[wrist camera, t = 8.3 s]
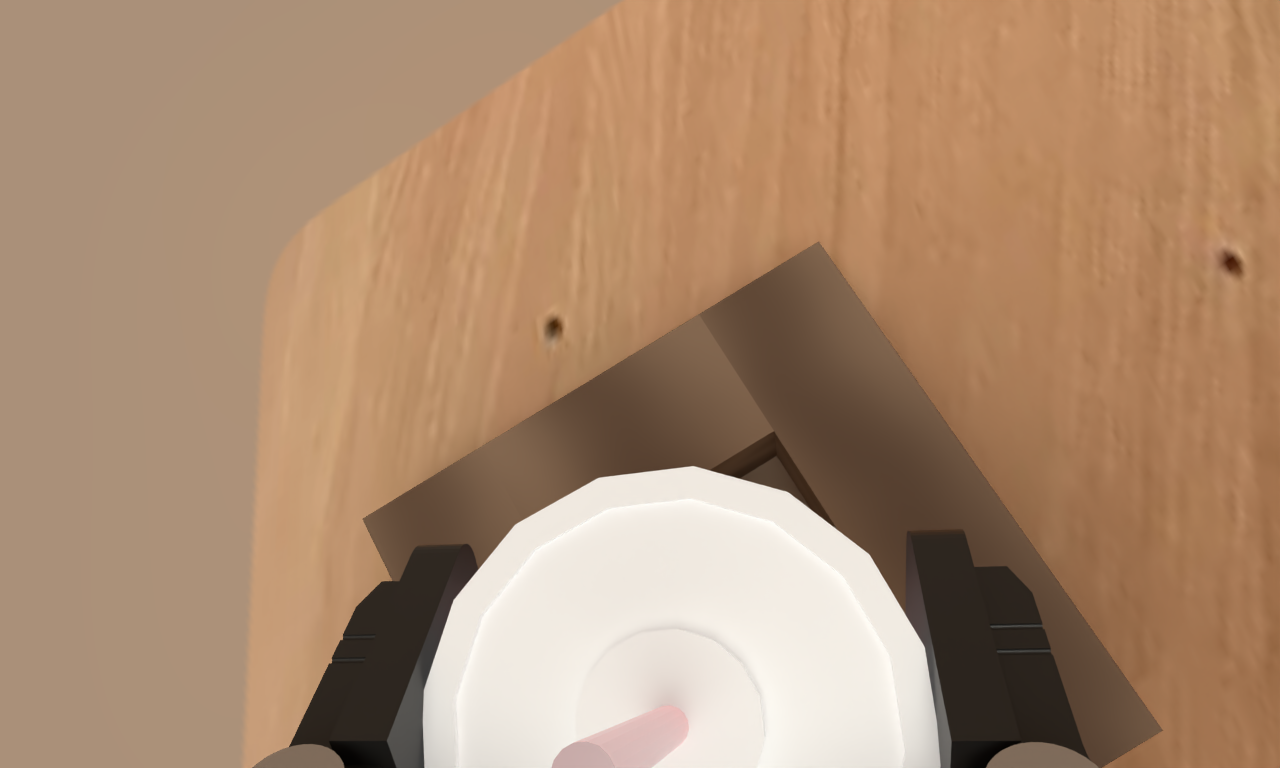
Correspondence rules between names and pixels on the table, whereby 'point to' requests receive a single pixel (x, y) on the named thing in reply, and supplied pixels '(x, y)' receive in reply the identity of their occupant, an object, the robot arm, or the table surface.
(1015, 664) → the robot arm
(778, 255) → the table surface
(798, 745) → the beverage cup
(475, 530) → the holder block
